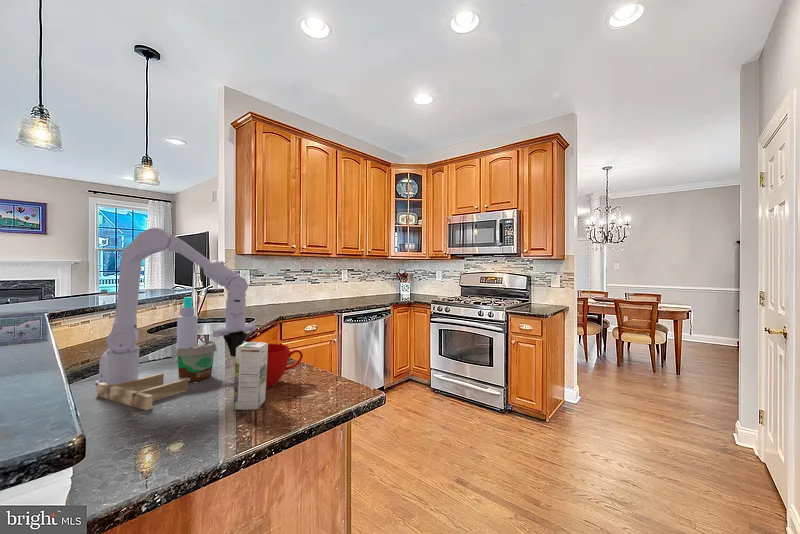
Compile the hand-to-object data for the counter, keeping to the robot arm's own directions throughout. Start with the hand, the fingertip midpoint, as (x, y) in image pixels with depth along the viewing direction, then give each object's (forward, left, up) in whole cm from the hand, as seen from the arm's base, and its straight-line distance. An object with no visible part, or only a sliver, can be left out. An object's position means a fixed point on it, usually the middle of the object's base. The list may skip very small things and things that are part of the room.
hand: (234, 356), depth 113 cm
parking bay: (0, -25, -4) cm, 26 cm away
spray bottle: (-24, +1, -5) cm, 24 cm away
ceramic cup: (+20, -4, -5) cm, 21 cm away
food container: (0, -11, -5) cm, 12 cm away
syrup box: (+28, -19, -5) cm, 34 cm away
